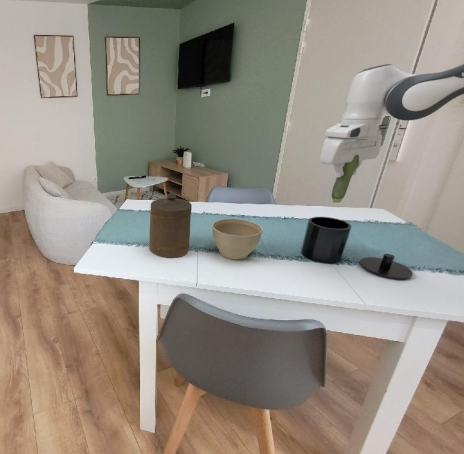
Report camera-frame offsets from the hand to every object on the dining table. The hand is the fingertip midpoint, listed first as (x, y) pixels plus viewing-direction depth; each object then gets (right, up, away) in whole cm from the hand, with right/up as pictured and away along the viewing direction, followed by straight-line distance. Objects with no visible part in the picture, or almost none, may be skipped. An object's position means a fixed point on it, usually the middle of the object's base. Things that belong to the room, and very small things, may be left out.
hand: (344, 175), depth 90 cm
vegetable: (0, -8, +3) cm, 9 cm away
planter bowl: (-27, -26, +16) cm, 41 cm away
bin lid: (+14, -29, +2) cm, 32 cm away
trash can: (+1, -26, +12) cm, 29 cm away
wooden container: (-50, -24, +22) cm, 59 cm away
